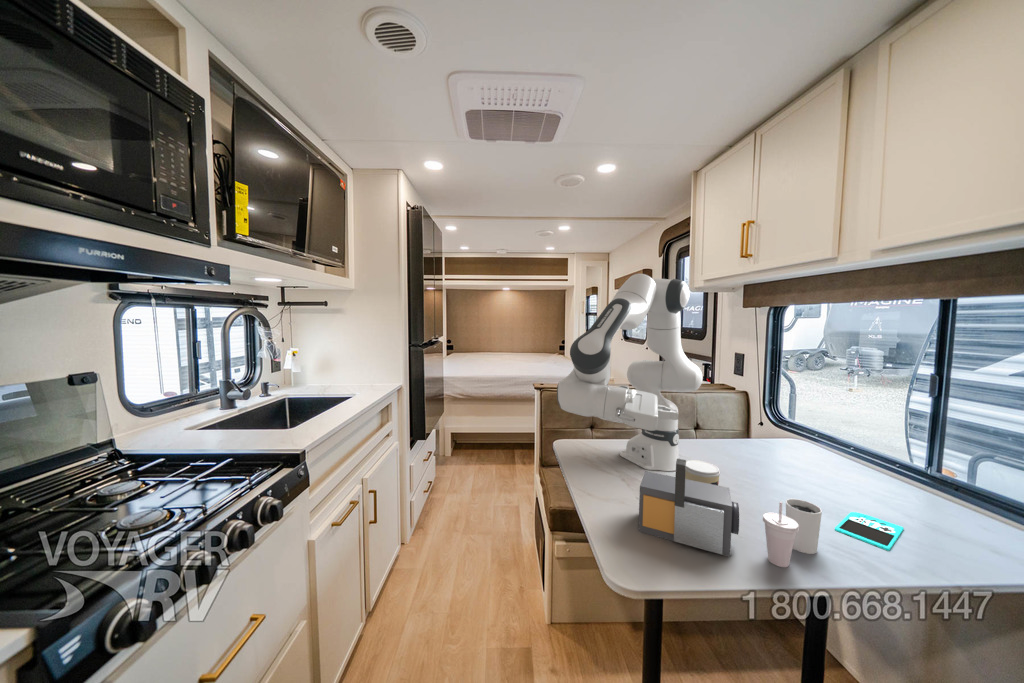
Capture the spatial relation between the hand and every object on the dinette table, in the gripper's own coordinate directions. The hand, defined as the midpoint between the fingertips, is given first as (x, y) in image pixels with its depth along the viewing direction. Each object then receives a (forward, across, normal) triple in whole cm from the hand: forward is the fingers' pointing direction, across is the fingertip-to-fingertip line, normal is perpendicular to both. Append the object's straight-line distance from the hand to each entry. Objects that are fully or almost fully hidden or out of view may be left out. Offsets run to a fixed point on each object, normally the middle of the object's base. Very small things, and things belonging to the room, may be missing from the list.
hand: (678, 415), depth 83 cm
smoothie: (+24, 0, +30) cm, 38 cm away
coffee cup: (+11, +19, +32) cm, 39 cm away
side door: (+7, -4, +30) cm, 31 cm away
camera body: (+5, +3, +31) cm, 32 cm away
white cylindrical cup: (+31, +8, +30) cm, 44 cm away
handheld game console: (+50, +23, +29) cm, 63 cm away
